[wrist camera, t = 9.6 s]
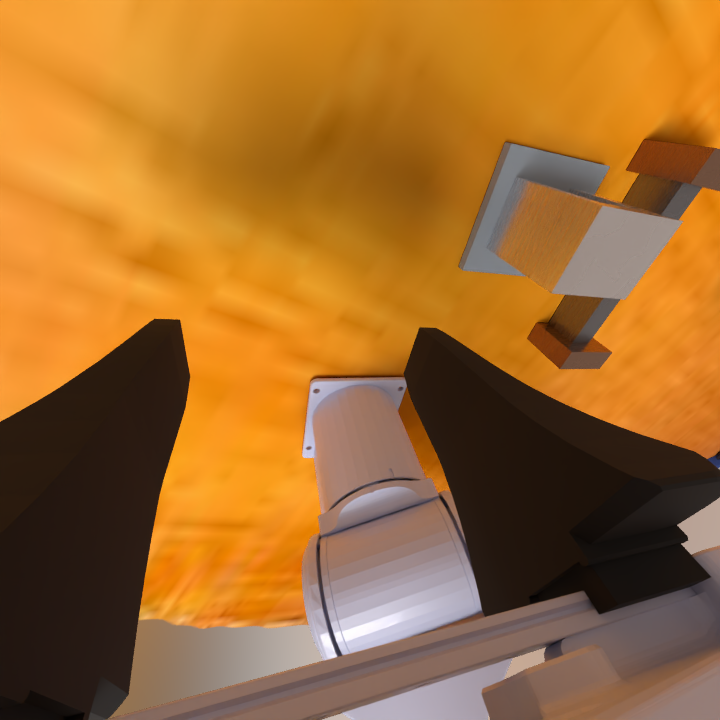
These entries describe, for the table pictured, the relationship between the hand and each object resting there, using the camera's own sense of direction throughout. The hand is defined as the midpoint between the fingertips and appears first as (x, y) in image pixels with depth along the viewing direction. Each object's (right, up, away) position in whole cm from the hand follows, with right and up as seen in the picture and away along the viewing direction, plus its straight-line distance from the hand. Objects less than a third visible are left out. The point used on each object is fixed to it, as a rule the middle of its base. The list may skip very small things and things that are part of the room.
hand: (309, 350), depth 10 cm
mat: (+12, +9, +10) cm, 18 cm away
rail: (+19, +7, +14) cm, 24 cm away
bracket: (+12, +8, +10) cm, 18 cm away
